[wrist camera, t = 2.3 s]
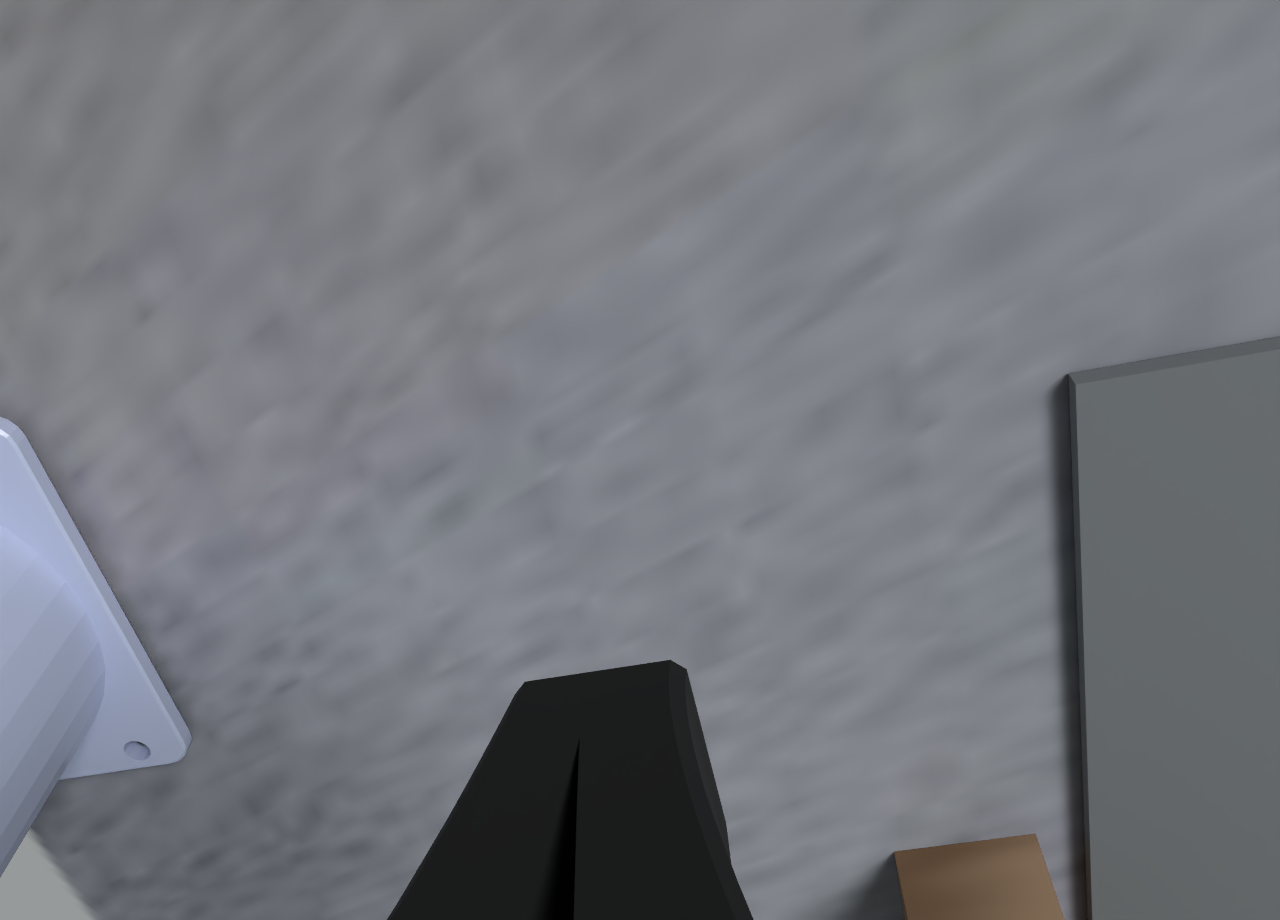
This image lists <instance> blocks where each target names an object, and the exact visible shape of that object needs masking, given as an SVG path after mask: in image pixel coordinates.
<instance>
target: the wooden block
mask: <svg viewBox="0 0 1280 920" xmlns="http://www.w3.org/2000/svg"><path fill="white" fill-rule="evenodd" d="M894 854H895V861H896V867H897V874H898V880H899V887H900V893H901V900H902V906H903V913H904V919H905V920H1064V917H1063V914H1062V911H1061V908H1060V905H1059V902H1058V899H1057V896H1056V893H1055V890H1054V887H1053V884H1052V881H1051V878H1050V875H1049V872H1048V869H1047V866H1046V863H1045V860H1044V858H1043V855H1042V852H1041V849H1040V846H1039V843H1038V840H1037V837H1036V834H1030V835H1022V836H1014V837H1006V838H998V839H990V840H982V841H975V842H967V843H959V844H951V845H943V846H935V847H927V848H919V849H911V850H904V851H896V852H894Z"/></svg>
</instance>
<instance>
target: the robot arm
mask: <svg viewBox="0 0 1280 920" xmlns="http://www.w3.org/2000/svg"><path fill="white" fill-rule="evenodd" d="M191 739H192V738H191V734H190V731H189V729H188V727H187V726H186V724H185V722H184V720H183V718H182V717H181V715H180V713H179V711H178V709H177V708H176V706H175V704H174V702H173V700H172V699H171V697H170V695H169V693H168V691H167V690H166V688H165V686H164V684H163V682H162V681H161V679H160V677H159V675H158V674H157V672H156V670H155V668H154V666H153V665H152V663H151V661H150V659H149V657H148V656H147V654H146V652H145V650H144V648H143V647H142V645H141V643H140V641H139V639H138V638H137V636H136V634H135V632H134V630H133V629H132V627H131V625H130V623H129V621H128V620H127V618H126V616H125V614H124V612H123V611H122V609H121V607H120V605H119V603H118V602H117V600H116V598H115V596H114V594H113V593H112V591H111V589H110V587H109V585H108V584H107V582H106V580H105V578H104V576H103V575H102V573H101V571H100V569H99V567H98V566H97V564H96V562H95V560H94V558H93V557H92V555H91V553H90V551H89V549H88V548H87V546H86V544H85V542H84V540H83V539H82V537H81V535H80V533H79V531H78V530H77V528H76V526H75V524H74V522H73V521H72V519H71V517H70V515H69V513H68V512H67V510H66V508H65V506H64V504H63V503H62V501H61V499H60V497H59V495H58V494H57V492H56V490H55V488H54V486H53V485H52V483H51V481H50V479H49V477H48V476H47V474H46V472H45V470H44V468H43V467H42V465H41V463H40V461H39V459H38V458H37V456H36V454H35V452H34V451H33V449H32V447H31V445H30V443H29V442H28V440H27V438H26V436H25V435H24V433H23V432H22V431H21V430H20V429H19V427H18V426H16V425H15V424H13V423H12V422H11V421H9V420H8V419H4V418H1V417H0V877H1V875H2V874H3V872H4V870H5V869H6V867H7V865H8V863H9V862H10V860H11V859H12V857H13V855H14V853H15V852H16V850H17V848H18V847H19V845H20V844H21V842H22V840H23V838H24V837H25V835H26V834H27V832H28V830H29V829H30V827H31V825H32V824H33V822H34V820H35V819H36V817H37V815H38V814H39V812H40V810H41V809H42V807H43V805H44V804H45V802H46V800H47V799H48V797H49V795H50V794H51V792H52V790H53V789H54V787H55V785H56V784H57V782H58V780H63V779H69V778H76V777H83V776H90V775H96V774H103V773H110V772H117V771H124V770H130V769H137V768H144V767H151V766H157V765H164V764H171V763H174V762H177V761H180V760H181V759H182V758H183V757H184V756H185V754H186V752H187V750H188V748H189V746H190V743H191ZM136 741H138V742H141V743H143V744H145V745H146V746H143V745H141V744H138V743H137V742H136ZM387 920H753V917H752V915H751V912H750V910H749V908H748V905H747V903H746V900H745V898H744V896H743V893H742V891H741V888H740V886H739V884H738V881H737V879H736V876H735V873H734V870H733V868H732V865H731V859H730V851H729V843H728V835H727V827H726V821H725V817H724V814H723V810H722V806H721V802H720V798H719V794H718V790H717V786H716V782H715V778H714V774H713V771H712V767H711V763H710V759H709V755H708V751H707V747H706V743H705V739H704V735H703V732H702V728H701V724H700V720H699V716H698V712H697V708H696V704H695V700H694V696H693V693H692V689H691V685H690V681H689V677H688V673H687V669H685V668H683V667H682V666H680V665H678V664H676V663H675V662H673V661H671V660H667V661H660V662H653V663H647V664H640V665H633V666H627V667H620V668H613V669H607V670H600V671H594V672H587V673H580V674H574V675H567V676H560V677H554V678H547V679H540V680H534V681H527V682H524V684H523V685H522V686H521V687H520V689H519V690H518V691H517V693H516V694H515V696H514V697H513V699H512V701H511V703H510V705H509V707H508V709H507V711H506V713H505V714H504V716H503V718H502V720H501V722H500V724H499V726H498V728H497V730H496V731H495V733H494V735H493V737H492V739H491V741H490V743H489V745H488V746H487V748H486V750H485V752H484V754H483V756H482V758H481V760H480V761H479V763H478V765H477V767H476V769H475V771H474V772H473V774H472V776H471V778H470V780H469V781H468V783H467V785H466V787H465V789H464V790H463V792H462V794H461V796H460V798H459V799H458V801H457V803H456V805H455V806H454V808H453V810H452V812H451V814H450V815H449V817H448V819H447V821H446V822H445V824H444V826H443V828H442V829H441V831H440V833H439V834H438V836H437V838H436V839H435V841H434V843H433V844H432V846H431V848H430V849H429V851H428V853H427V854H426V856H425V858H424V859H423V861H422V863H421V865H420V866H419V868H418V870H417V871H416V873H415V875H414V876H413V878H412V880H411V881H410V883H409V885H408V886H407V888H406V890H405V891H404V893H403V895H402V896H401V898H400V900H399V901H398V903H397V905H396V906H395V908H394V909H393V911H392V913H391V914H390V916H389V917H388V919H387Z"/></svg>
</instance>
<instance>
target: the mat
mask: <svg viewBox="0 0 1280 920" xmlns="http://www.w3.org/2000/svg"><path fill="white" fill-rule="evenodd" d="M1069 400H1070V429H1071V458H1072V487H1073V516H1074V545H1075V574H1076V603H1077V632H1078V661H1079V690H1080V719H1081V748H1082V778H1083V807H1084V836H1085V865H1086V894H1087V920H1280V337H1274V338H1269V339H1263V340H1257V341H1252V342H1246V343H1240V344H1235V345H1229V346H1223V347H1217V348H1212V349H1206V350H1200V351H1195V352H1189V353H1183V354H1178V355H1172V356H1166V357H1161V358H1155V359H1149V360H1143V361H1138V362H1132V363H1126V364H1121V365H1115V366H1109V367H1104V368H1098V369H1092V370H1087V371H1081V372H1075V373H1069Z"/></svg>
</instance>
